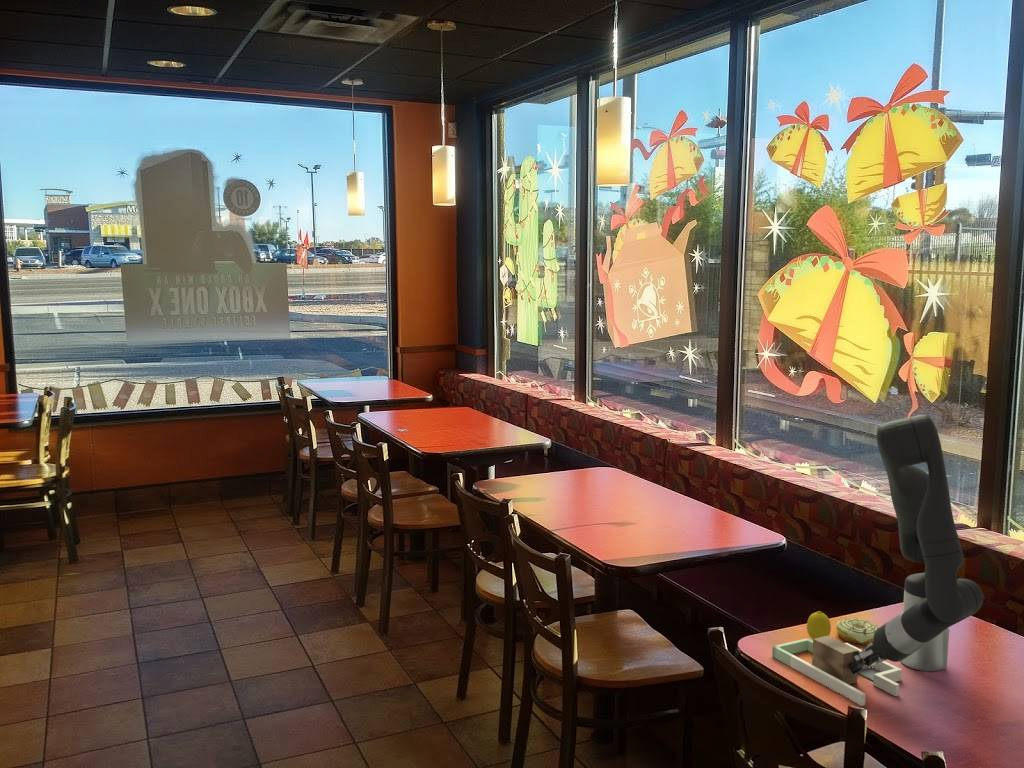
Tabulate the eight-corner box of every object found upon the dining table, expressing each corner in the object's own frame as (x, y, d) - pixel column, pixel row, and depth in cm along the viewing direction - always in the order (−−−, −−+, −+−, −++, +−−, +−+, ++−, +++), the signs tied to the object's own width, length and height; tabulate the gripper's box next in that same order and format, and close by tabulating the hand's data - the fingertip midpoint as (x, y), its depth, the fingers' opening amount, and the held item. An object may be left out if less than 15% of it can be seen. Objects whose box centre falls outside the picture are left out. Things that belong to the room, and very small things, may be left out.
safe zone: (825, 657, 212) (826, 647, 212) (790, 666, 207) (790, 655, 207) (807, 648, 218) (807, 638, 217) (772, 656, 213) (772, 646, 212)
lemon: (831, 648, 218) (833, 616, 217) (807, 646, 219) (809, 614, 218) (828, 639, 223) (829, 608, 222) (804, 637, 224) (806, 606, 223)
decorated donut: (865, 651, 217) (866, 636, 216) (827, 636, 225) (828, 621, 225) (890, 641, 223) (891, 626, 222) (852, 626, 231) (853, 612, 231)
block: (856, 682, 200) (858, 650, 199) (842, 686, 198) (843, 653, 197) (826, 666, 208) (827, 635, 207) (811, 670, 206) (813, 638, 205)
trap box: (920, 689, 196) (920, 678, 196) (861, 706, 189) (862, 694, 188) (846, 652, 215) (846, 642, 215) (790, 666, 207) (790, 655, 207)
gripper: (914, 614, 190) (865, 647, 203) (869, 624, 184) (821, 658, 197) (934, 647, 186) (883, 679, 198) (889, 659, 180) (839, 691, 193)
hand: (852, 669), depth 198 cm, fingers closed
